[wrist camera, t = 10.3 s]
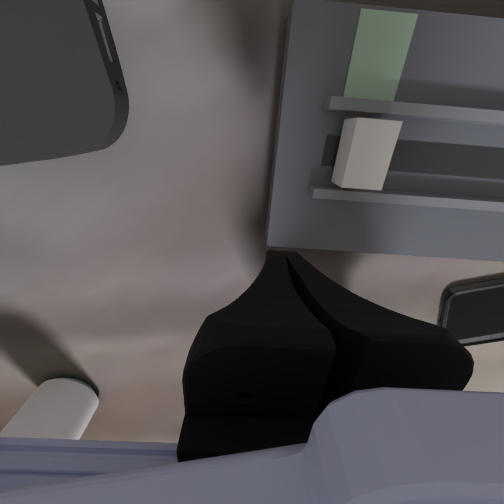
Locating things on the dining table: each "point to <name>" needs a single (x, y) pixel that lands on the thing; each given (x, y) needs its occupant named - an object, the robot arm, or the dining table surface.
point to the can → (54, 411)
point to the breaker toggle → (365, 152)
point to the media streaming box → (58, 80)
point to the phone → (474, 312)
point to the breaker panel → (409, 139)
